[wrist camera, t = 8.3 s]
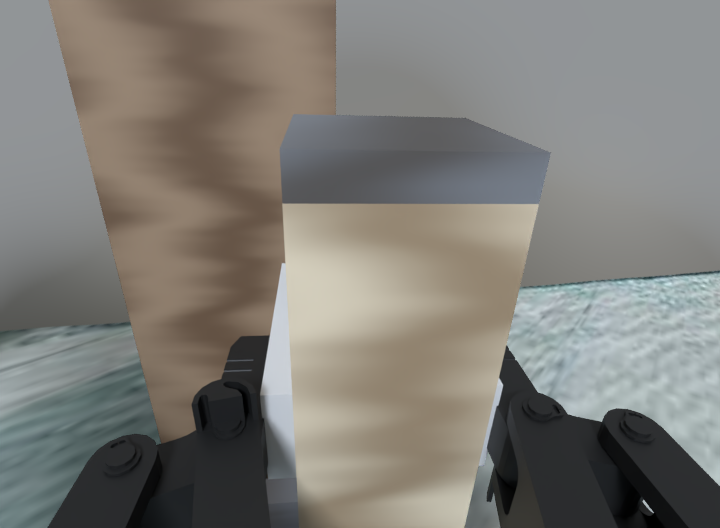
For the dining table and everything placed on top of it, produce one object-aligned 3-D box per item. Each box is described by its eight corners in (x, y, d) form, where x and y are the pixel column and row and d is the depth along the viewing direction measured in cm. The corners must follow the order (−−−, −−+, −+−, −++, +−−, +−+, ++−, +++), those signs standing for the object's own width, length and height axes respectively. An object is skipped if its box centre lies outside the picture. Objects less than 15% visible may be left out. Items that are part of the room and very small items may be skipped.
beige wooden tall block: (306, 657, 12) (279, 149, 6) (308, 522, 16) (293, 114, 9) (437, 643, 13) (550, 152, 6) (411, 515, 16) (465, 118, 10)
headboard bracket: (91, 767, 16) (-606, -251, 4) (200, 428, 32) (116, -9, 19) (344, 737, 17) (368, -172, 5) (332, 421, 33) (331, 1, 20)
